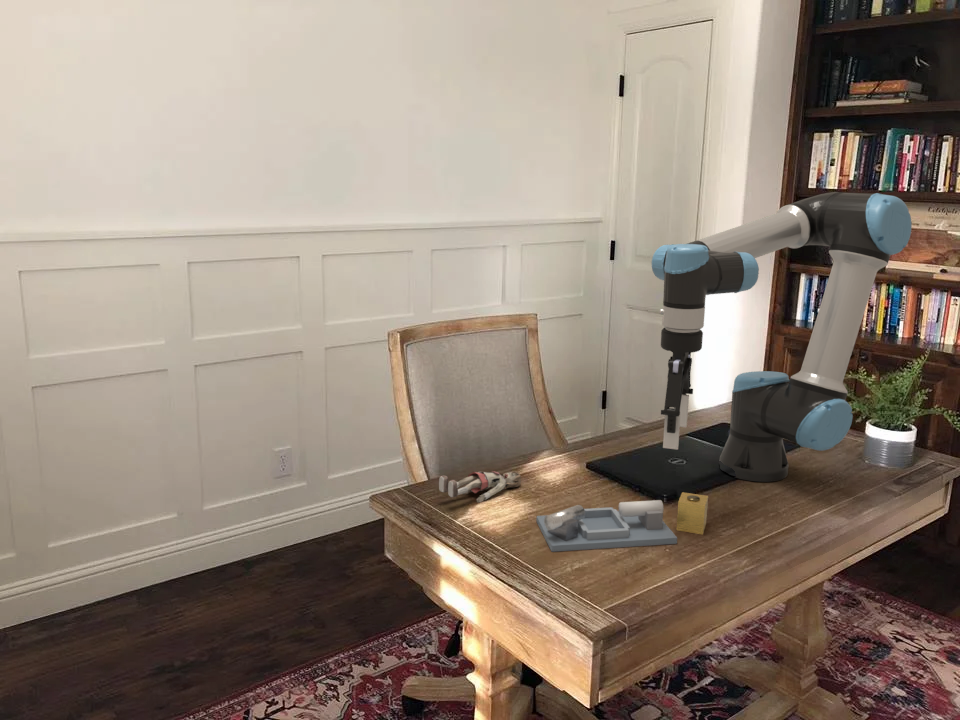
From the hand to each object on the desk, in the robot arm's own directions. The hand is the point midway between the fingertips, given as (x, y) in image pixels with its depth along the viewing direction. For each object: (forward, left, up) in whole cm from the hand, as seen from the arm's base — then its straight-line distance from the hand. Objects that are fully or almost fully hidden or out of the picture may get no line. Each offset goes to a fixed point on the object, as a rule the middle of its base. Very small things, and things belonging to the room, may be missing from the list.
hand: (675, 436), depth 160 cm
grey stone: (+22, +4, -17) cm, 28 cm away
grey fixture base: (+14, +2, -18) cm, 23 cm away
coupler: (-4, +2, -18) cm, 18 cm away
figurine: (+34, -19, -18) cm, 43 cm away
